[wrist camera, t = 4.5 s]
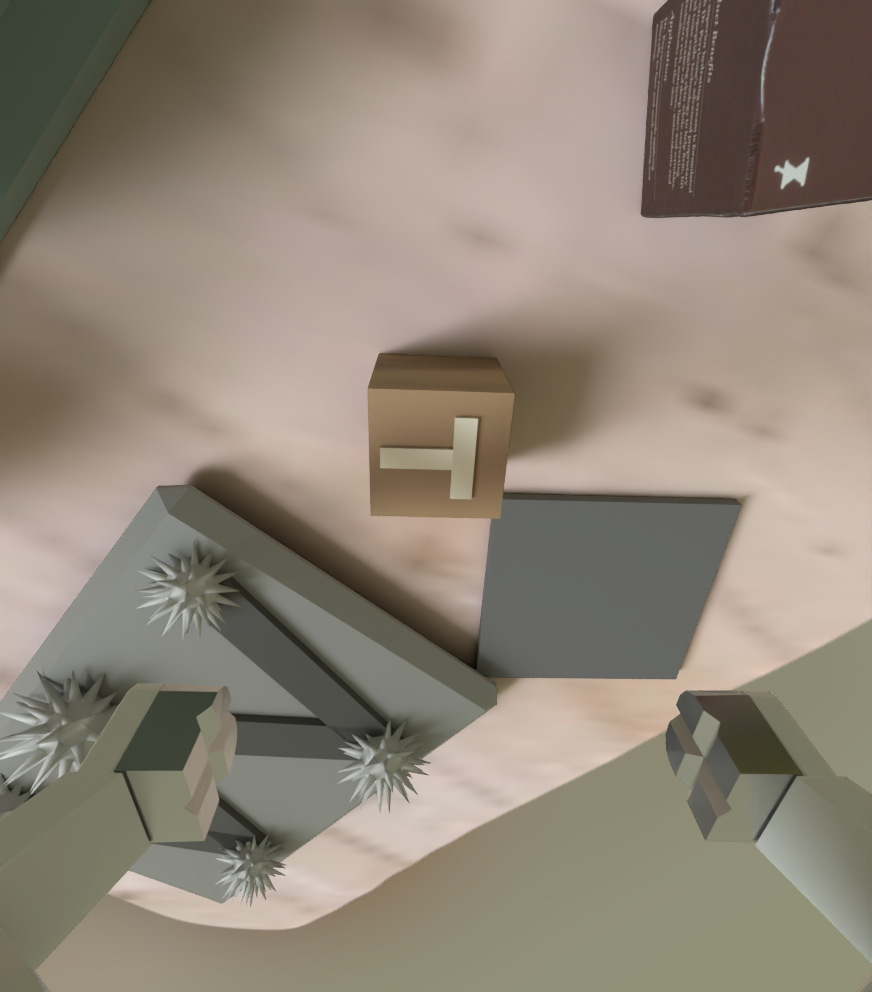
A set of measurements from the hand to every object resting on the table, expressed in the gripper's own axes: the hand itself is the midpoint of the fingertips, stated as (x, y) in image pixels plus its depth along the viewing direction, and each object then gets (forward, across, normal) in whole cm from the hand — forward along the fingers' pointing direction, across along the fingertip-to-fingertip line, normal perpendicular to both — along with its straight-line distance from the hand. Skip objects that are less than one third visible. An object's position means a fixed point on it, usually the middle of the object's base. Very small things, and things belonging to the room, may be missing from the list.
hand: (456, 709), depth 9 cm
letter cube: (+16, 0, 0) cm, 16 cm away
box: (+16, -10, -12) cm, 22 cm away
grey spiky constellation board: (+16, +13, +21) cm, 29 cm away
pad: (+16, -9, +10) cm, 20 cm away
